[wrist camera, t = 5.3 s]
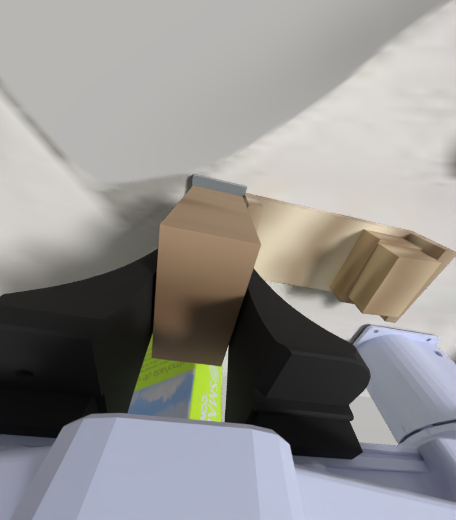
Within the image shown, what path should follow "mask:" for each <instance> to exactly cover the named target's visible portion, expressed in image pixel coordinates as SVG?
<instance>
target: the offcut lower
mask: <svg viewBox="0 0 456 520" xmlns="http://www.w3.org/2000/svg"><path fill="white" fill-rule="evenodd" d="M378 244H386V245H393V246H400V247H407V248H414V249H418V250H419V251H421V250H422V248H420V247H418V246H416V245H415V244H413V243H411V242H409V241H407V240H405V239H404V238H401V237H397V236H392V235H388V234H383V233H379V232H374V231H370V230H365V229H364V230H363V232H362V233H361V235H360V237H359V238H358V240H357V242H356V243H355V245H354V247H353V248H352V250H351V252H350V253H349V255H348V257H347V258H346V260H345V262H344V263H343V265H342V267H341V268H340V270H339V272H338V274H337V275H336V277H335V279H334V280H333V282H332V284H331V285H330V289H331V290H332V291H333V293H334V294H335V296H336V297H337V298H338V300H339V301H340V302H346V303H351V304H354V303H353V301H352V300H351V299H350V298H349V294H350V292H351V291H352V289H353V287H354V285H355V284H356V282H357V280H358V279H359V277H360V275H361V273H362V272H363V270H364V268H365V266H366V265H367V263H368V261H369V260H370V258H371V256H372V254H373V253H374V251H375V249H376V248H377V246H378Z"/></svg>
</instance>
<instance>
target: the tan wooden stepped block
mask: <svg viewBox="0 0 456 520" xmlns="http://www.w3.org/2000/svg"><path fill="white" fill-rule="evenodd" d="M244 201H245V204H246V206H247V209H248V211H249V214H250V217H251V219H252V222H253V224H254V227H255V230H256V232H257V235H258V237H259V240H260V242H261V247H260V250H259V253H258V256H257V259H256V262H255V265H254V269H255V270H256V271H257V273H258V274H259V275H260V276H261V277H262V279H263V280H268V281H273V282H279V283H284V284H290V285H296V286H301V287H307V288H312V289H318V290H323V291H329V292H333V291H332V290H331V289H330V285H331V284H332V282H333V280H334V279H335V277H336V275H337V274H338V272H339V270H340V268H341V267H342V265H343V263H344V262H345V260H346V258H347V257H348V255H349V253H350V252H351V250H352V248H353V247H354V245H355V243H356V242H357V240H358V238H359V237H360V235H361V233H362V232H363V230H364V229H365V230H370V231H374V232H379V233H383V234H388V235H392V236H397V237H401V238H404V239H405V240H407V241H409V242H411V243H413V244H415V245H416V246H418V247H420V248H422V250H421V252H423V253H425V254H427V255H428V256H430V257H432V258H434V259H436V260H437V261H439V262H441V264H440V265H439V266H438V268H437V269H436V270H435V272H434V273H433V274H432V275H431V277H430V278H429V279H428V280H427V282H426V283H425V284H424V285H423V287H422V288H421V289H420V290H419V292H418V293H417V294H416V295H415V297H414V298H413V299H412V300H411V302H410V303H409V304H408V305H407V307H406V308H405V309H404V310H403V312H402V313H401V314H400V315H399V317H391V316H382V315H380V316H381V317H382V318H383V319H384V321H387V322H393V323H396V321H397V320H398V319H399V318H400V317H401V316H402V315H403V314H404V313H405V311H406V310H407V309H408V308H409V307H410V306H411V305H412V304H413V303H414V302H415V300H416V299H417V298H418V297H419V296H420V295H421V294H422V293H423V292H424V290H425V289H426V288H427V287H428V286H429V285H430V284H431V283H432V282H433V281H434V279H435V278H436V277H437V276H438V275H439V274H440V273H441V272H442V271H443V269H444V268H445V267H446V266H447V265H448V264H449V263H450V262H451V261H452V259H453V258H454V257H455V256H456V252H455V251H453V250H451V249H449V248H446V247H444V246H442V245H440V244H438V243H436V242H434V241H432V240H430V239H428V238H426V237H423V236H421V235H419V234H417V233H415V232H413V231H409V230H405V229H401V228H396V227H392V226H388V225H383V224H379V223H374V222H370V221H366V220H361V219H357V218H353V217H348V216H344V215H340V214H335V213H331V212H326V211H322V210H318V209H313V208H309V207H305V206H300V205H296V204H292V203H287V202H283V201H278V200H274V199H270V198H265V197H261V196H257V195H252V194H248V193H245V197H244Z"/></svg>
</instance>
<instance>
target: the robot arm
mask: <svg viewBox="0 0 456 520" xmlns="http://www.w3.org/2000/svg"><path fill="white" fill-rule="evenodd" d="M157 261H158V249H157V250H155V251H153V252H152V253H150V254H148V255H146V256H145V257H143V258H141V259H139V260H137V261H135V262H133V263H131V264H128V265H126V266H124V267H121V268H119V269H116V270H114V271H111V272H108V273H105V274H102V275H98V276H95V277H92V278H88V279H85V280H81V281H77V282H73V283H68V284H63V285H59V286H54V287H48V288H42V289H36V290H29V291H23V292H16V293H9V294H4V295H2V296H1V297H0V520H456V364H455V363H454V362H453V361H452V360H451V359H450V358H449V357H448V356H447V355H446V354H445V353H444V352H443V351H442V350H441V349H440V348H439V347H438V346H437V345H436V344H437V343H438V342H439V341H440V338H439V337H438V336H434V335H428V334H422V333H416V332H410V331H404V330H397V329H391V328H385V327H379V326H373V325H370V326H368V327H366V329H365V330H364V331H363V332H362V333H361V335H360V336H359V337H358V338H357V340H356V341H355V342H354V343H353V344H351V343H349V342H347V341H345V340H343V339H342V338H340V337H338V336H336V335H334V334H332V333H330V332H329V331H327V330H325V329H324V328H322V327H320V326H319V325H317V324H316V323H314V322H312V321H311V320H309V319H308V318H306V317H305V316H304V315H302V314H301V313H299V312H298V311H297V310H295V309H294V308H293V307H292V306H290V305H289V304H288V303H287V302H285V301H284V300H283V299H282V298H281V297H280V296H279V295H278V294H277V293H275V292H274V291H273V290H272V288H271V287H270V286H269V285H268V284H267V283H266V282H265V281H264V280H263V279H262V277H261V276H260V275H259V274H258V273H257V271H256V270H255V269H253V272H252V275H251V278H250V281H249V284H248V287H247V290H246V293H245V296H244V299H243V302H242V305H241V308H240V311H239V314H238V317H237V320H236V323H235V326H234V329H233V332H232V335H231V338H230V341H229V349H228V374H227V393H226V394H227V395H226V410H225V422H216V421H205V420H193V419H182V418H171V417H160V416H149V415H137V414H127V413H128V410H129V407H130V403H131V400H132V397H133V393H134V390H135V387H136V384H137V380H138V377H139V374H140V371H141V368H142V364H143V361H144V358H145V355H146V352H147V349H148V346H149V343H150V340H151V337H152V334H153V326H154V310H155V293H156V277H157ZM365 388H366V389H367V391H368V392H369V394H370V396H371V398H372V399H373V401H374V403H375V404H376V406H377V408H378V410H379V411H380V413H381V415H382V417H383V418H384V420H385V422H386V424H387V425H388V427H389V429H390V431H391V433H392V434H393V436H394V438H395V439H396V441H397V443H398V445H397V446H395V445H383V444H371V443H359V441H358V439H357V437H356V435H355V432H354V430H353V428H352V426H351V423H350V421H352V420H353V419H354V416H353V414H352V411H351V409H350V407H349V404H350V403H351V402H352V401H353V400H354V399H355V398H356V397H358V396H359V395H360V394H361V393H362V392H363V391H364V390H365Z"/></svg>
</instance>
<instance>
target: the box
mask: <svg viewBox="0 0 456 520" xmlns="http://www.w3.org/2000/svg"><path fill="white" fill-rule="evenodd" d="M152 343H153V334H152V337H151V340H150V343H149V346H148V349H147V352H146V355H145V358H144V361H143V364H142V368H141V371H140V374H139V377H138V380H137V384H136V387H135V390H134V393H133V397H132V400H131V403H130V407H129V410H128V413H127V414H137V415H149V416H160V417H171V418H182V419H193V420H205V421H216V422H222V366H213V365H205V364H196V363H188V362H180V361H172V360H164V359H155V358H152Z"/></svg>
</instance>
